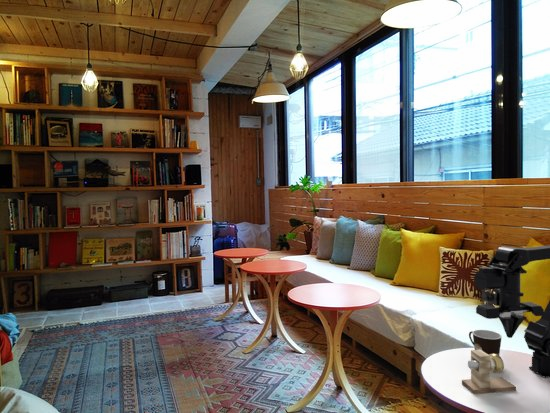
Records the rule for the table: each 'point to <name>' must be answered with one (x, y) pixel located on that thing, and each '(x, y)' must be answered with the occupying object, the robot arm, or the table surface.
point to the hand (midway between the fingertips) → (509, 337)
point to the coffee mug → (486, 341)
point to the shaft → (495, 364)
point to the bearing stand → (485, 377)
